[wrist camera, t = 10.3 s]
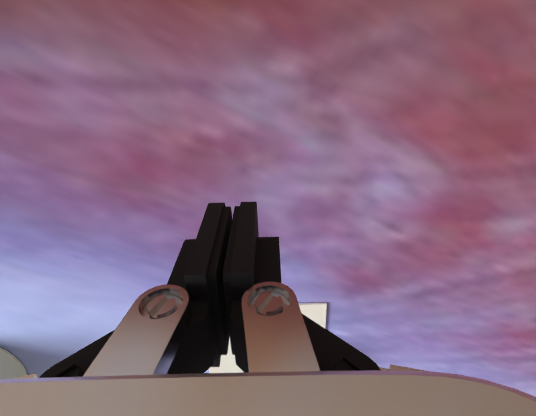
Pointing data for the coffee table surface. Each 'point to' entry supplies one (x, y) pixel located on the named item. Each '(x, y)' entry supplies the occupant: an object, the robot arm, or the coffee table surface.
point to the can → (10, 366)
